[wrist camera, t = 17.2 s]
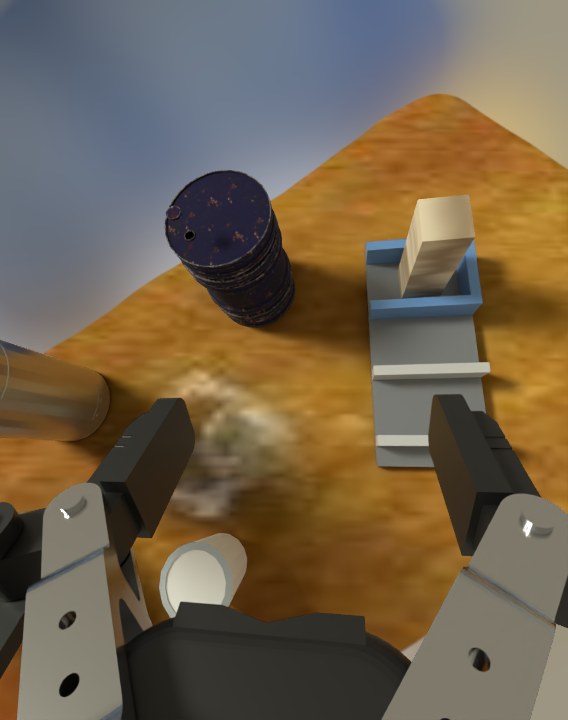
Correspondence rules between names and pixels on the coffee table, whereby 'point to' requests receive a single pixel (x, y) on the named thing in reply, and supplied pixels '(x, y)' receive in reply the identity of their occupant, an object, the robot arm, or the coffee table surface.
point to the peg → (435, 245)
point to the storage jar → (232, 246)
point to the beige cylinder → (203, 572)
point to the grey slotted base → (418, 352)
